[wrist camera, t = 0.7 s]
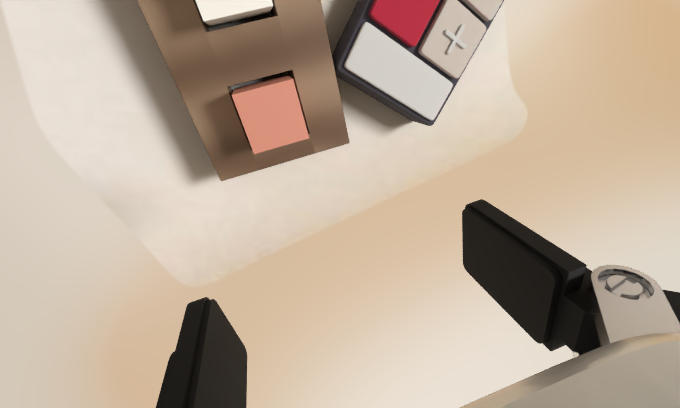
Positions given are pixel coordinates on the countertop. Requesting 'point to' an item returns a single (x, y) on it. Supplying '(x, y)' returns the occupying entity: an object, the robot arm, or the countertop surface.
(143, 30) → the countertop surface
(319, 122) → the key panel
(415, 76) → the calculator
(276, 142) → the salmon pink key
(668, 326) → the robot arm
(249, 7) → the white key
